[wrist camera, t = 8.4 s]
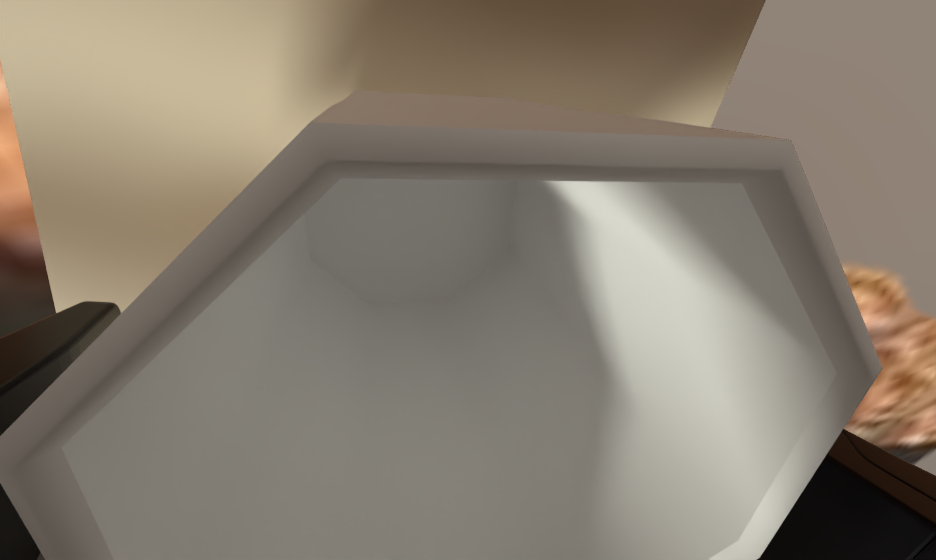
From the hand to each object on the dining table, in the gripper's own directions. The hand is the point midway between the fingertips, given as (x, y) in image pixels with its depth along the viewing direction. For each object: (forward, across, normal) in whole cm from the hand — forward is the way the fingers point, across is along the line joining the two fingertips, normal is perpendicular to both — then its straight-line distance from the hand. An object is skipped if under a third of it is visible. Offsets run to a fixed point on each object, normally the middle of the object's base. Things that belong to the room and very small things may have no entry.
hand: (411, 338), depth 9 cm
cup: (+4, 0, 0) cm, 4 cm away
